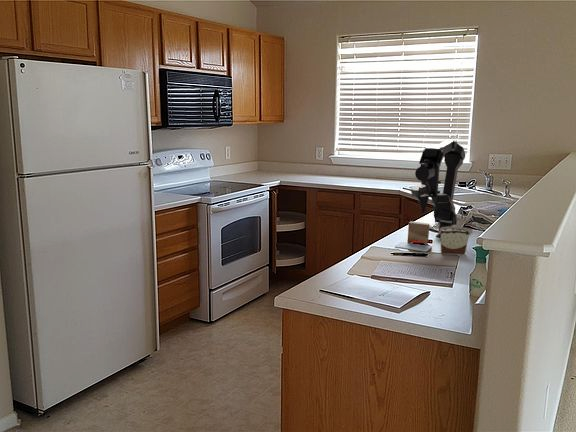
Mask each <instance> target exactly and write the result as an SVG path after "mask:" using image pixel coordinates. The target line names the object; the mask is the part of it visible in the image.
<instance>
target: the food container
mask: <svg viewBox="0 0 576 432" xmlns="http://www.w3.org/2000/svg"><path fill="white" fill-rule="evenodd" d="M439 234H440V237H439V238H440V240H439V241H440V254H441V255H455V256H456V255H458V256H460V255H461V256H465V255H466V252H467V251H466V250H467V246H468V242H469V238H470V237H469V236H471V230H470V229H468V228H465V227H459V226H452V227H442V228H440V231H439Z"/></svg>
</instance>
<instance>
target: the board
mask: <svg viewBox="0 0 576 432" xmlns="http://www.w3.org/2000/svg"><path fill="white" fill-rule="evenodd" d="M394 248H397V249H404V250H409V251H410V250H411V251H417V252H418V251H419V252H425V253H427V252H428V251H430V249H431V248H433V245H429V244H428V245H420V244H413V243H407V242H405V241H401V242H398V244H397V245H395V246H394Z"/></svg>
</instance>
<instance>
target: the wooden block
mask: <svg viewBox="0 0 576 432" xmlns="http://www.w3.org/2000/svg"><path fill="white" fill-rule="evenodd" d="M430 226H431V225H430V223H425V222H421V221H420V222H419V221H411V220H410V221H409V222H408V229H407V242H406V243H411V242H410V241H413V240H417V241H421V242H424V244H425V245H427V241H428V242H429V236H430Z"/></svg>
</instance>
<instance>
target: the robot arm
mask: <svg viewBox="0 0 576 432" xmlns="http://www.w3.org/2000/svg"><path fill="white" fill-rule="evenodd" d="M465 158H466V151H465V149H464V147H463V146H462V145H461V144H459V143H458V142H457V140H455V139H444V140H443V141H441V143H439V144H437V145H435V146H434V145H431V146H430V145H429V146H426V147H424V149H423V151H422V152H421V156H420V159H419V162H418V164H419V165H420V166H418V167H417V168H416V170H415V172H414V173H415V178H416V179H417V180H418V181H420V184H417V185H415V186H412V187H410V192H411V197H414V198H415V199H416V200H417V201H418V205H419V208H420V212H421V214H425V212H426V208H427V205H428V202H429V198H431V201H430V203H431V204H432V206H433V218H434V223H438V230H437V231H438V233H437V234H436V235H435V237H436V238H440V234H439V231H440V228H442V227H453V226H454V225H455V226H456V225H458V217H457V214H456V213H457V212H456V206H455V204H454V197H455V196H454V195H455V190H456V189H455V188H456V183H457V179H458V171H459V169H460V168H461V166H462V165H463V164H464V160H465ZM442 161H444V163H445V166H446V170H445V171H446V173H445V179H444V185H443V190H442V193H441V190H439V184H441V182H442V181H441V180H440V179H439V178H440V169H441V168H440V166H442Z"/></svg>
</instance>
